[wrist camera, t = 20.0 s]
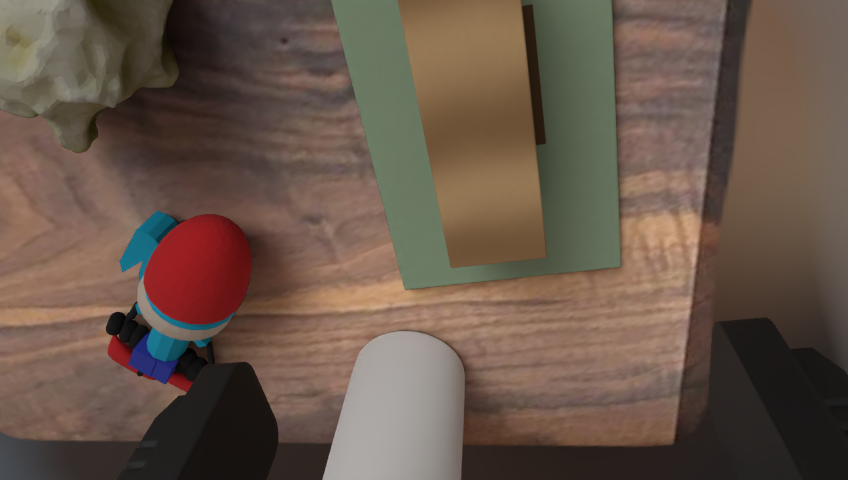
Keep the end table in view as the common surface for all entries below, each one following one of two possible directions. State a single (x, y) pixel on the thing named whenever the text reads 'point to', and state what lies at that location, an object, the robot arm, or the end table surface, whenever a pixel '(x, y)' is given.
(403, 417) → the can
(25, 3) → the fruit
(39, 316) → the end table surface
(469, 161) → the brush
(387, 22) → the mat
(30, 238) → the end table surface
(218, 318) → the toy figure
